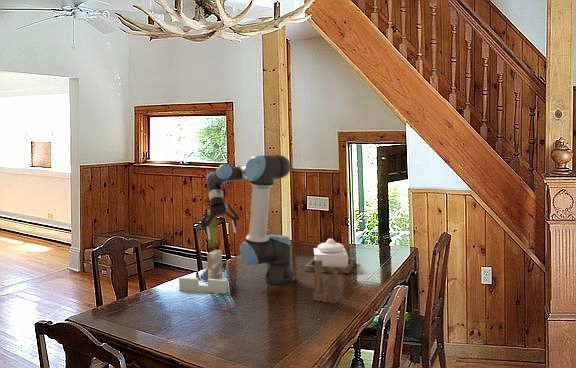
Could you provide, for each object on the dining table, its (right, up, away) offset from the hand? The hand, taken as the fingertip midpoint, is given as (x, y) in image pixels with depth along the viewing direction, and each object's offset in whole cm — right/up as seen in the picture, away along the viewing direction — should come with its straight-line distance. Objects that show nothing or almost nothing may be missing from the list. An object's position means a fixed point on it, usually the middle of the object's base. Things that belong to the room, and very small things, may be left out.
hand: (222, 235), depth 303 cm
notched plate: (-2, -23, -9) cm, 25 cm away
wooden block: (+51, -26, -42) cm, 71 cm away
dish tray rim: (+58, -19, +21) cm, 64 cm away
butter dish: (+57, -19, +21) cm, 64 cm away
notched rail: (-6, -24, -23) cm, 34 cm away
